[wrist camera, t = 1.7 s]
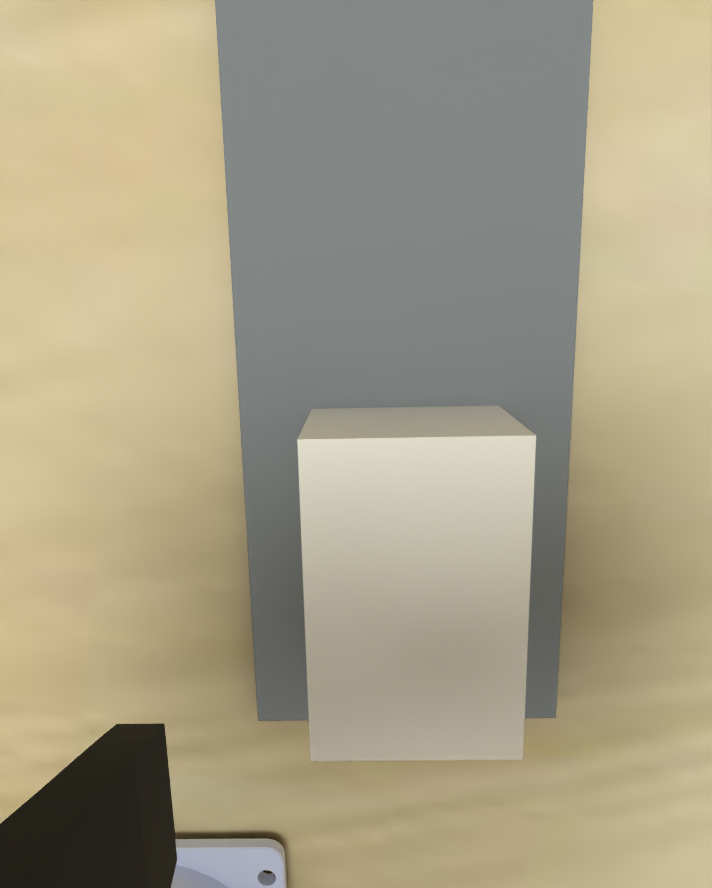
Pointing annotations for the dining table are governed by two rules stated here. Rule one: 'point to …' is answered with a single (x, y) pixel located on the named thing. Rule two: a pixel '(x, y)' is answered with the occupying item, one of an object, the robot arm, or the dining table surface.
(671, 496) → the dining table surface
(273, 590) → the mat
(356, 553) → the card box
